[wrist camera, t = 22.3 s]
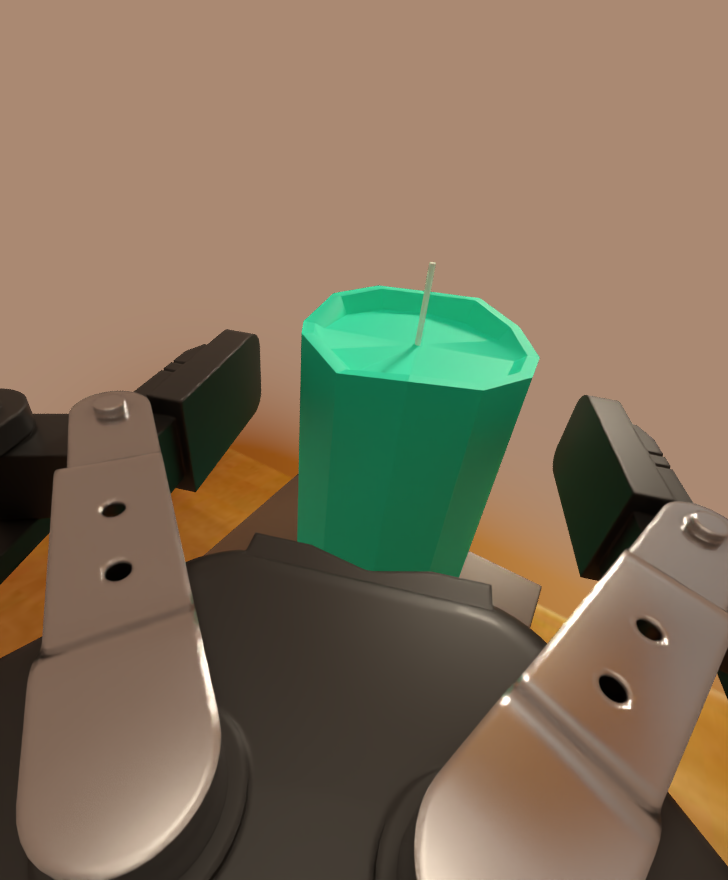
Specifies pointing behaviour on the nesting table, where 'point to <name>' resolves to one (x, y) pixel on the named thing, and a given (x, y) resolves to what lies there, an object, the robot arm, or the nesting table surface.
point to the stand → (506, 586)
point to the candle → (405, 423)
